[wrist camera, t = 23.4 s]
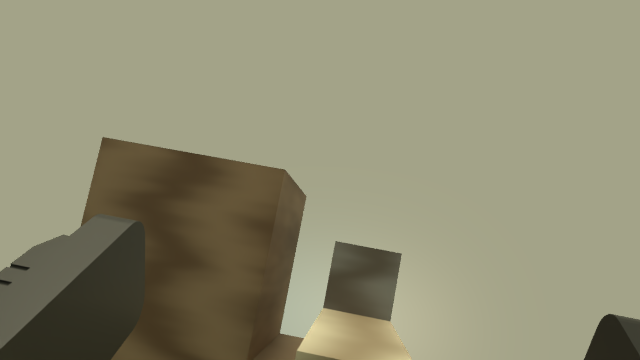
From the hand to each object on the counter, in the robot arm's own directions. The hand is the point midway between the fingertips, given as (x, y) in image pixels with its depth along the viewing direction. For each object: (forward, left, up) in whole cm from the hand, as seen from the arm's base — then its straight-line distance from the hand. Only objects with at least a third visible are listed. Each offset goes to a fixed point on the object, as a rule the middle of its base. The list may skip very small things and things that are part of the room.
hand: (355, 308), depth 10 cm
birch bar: (+1, +18, -5) cm, 19 cm away
